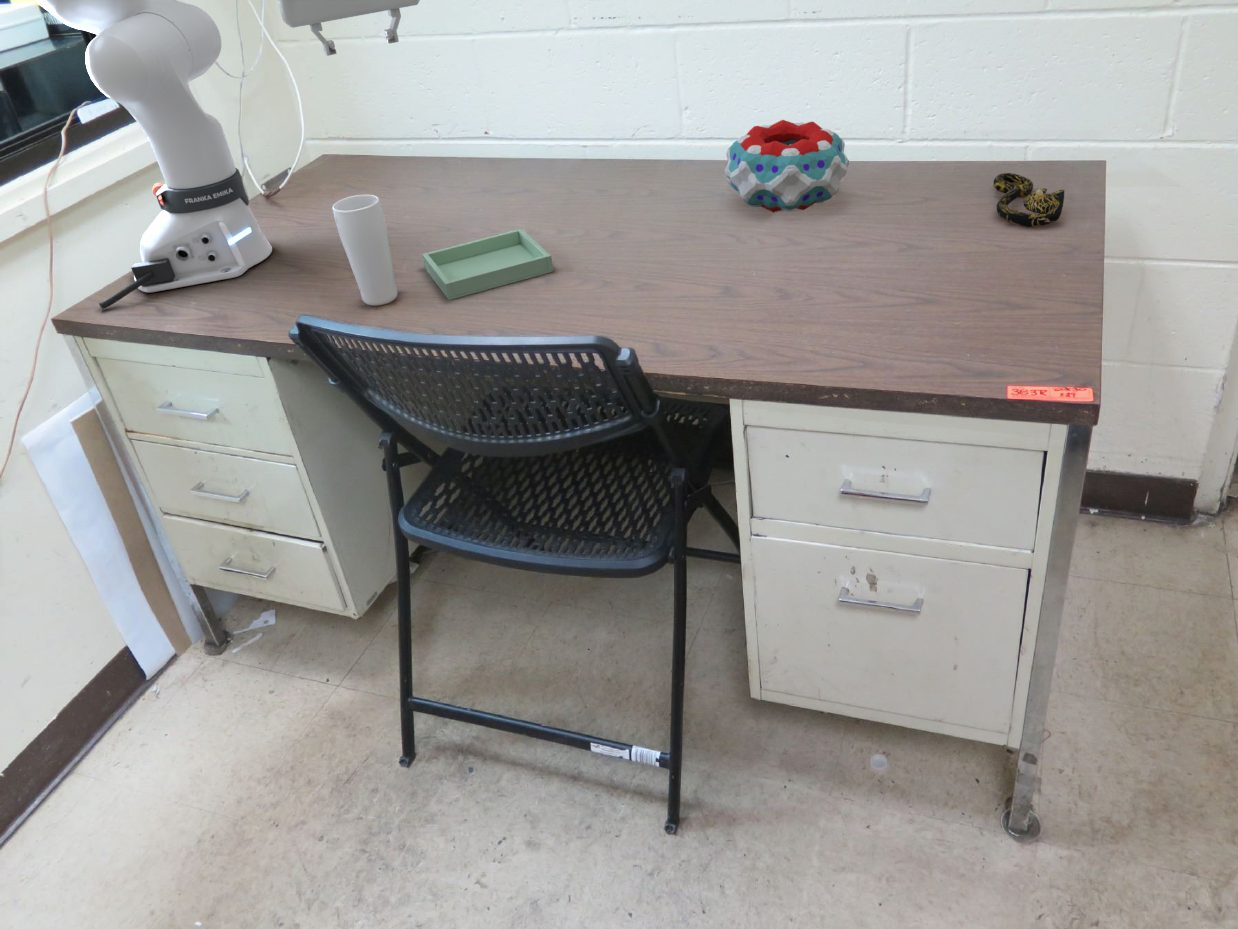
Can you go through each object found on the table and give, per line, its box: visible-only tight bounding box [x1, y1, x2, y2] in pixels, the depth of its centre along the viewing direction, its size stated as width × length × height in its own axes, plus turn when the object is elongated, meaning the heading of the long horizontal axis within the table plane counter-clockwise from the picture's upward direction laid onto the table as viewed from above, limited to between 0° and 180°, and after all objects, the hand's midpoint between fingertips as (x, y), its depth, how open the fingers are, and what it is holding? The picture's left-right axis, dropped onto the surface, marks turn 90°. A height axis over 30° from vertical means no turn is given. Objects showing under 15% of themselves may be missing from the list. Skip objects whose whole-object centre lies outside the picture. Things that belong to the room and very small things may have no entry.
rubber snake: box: [993, 172, 1065, 228], centre depth 150 cm, size 18×5×10 cm
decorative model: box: [724, 119, 850, 213], centre depth 160 cm, size 19×14×20 cm
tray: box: [421, 228, 554, 301], centre depth 151 cm, size 17×14×3 cm
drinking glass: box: [331, 194, 399, 307], centre depth 143 cm, size 7×7×15 cm
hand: (362, 48), depth 147 cm, fingers open, 8 cm apart
